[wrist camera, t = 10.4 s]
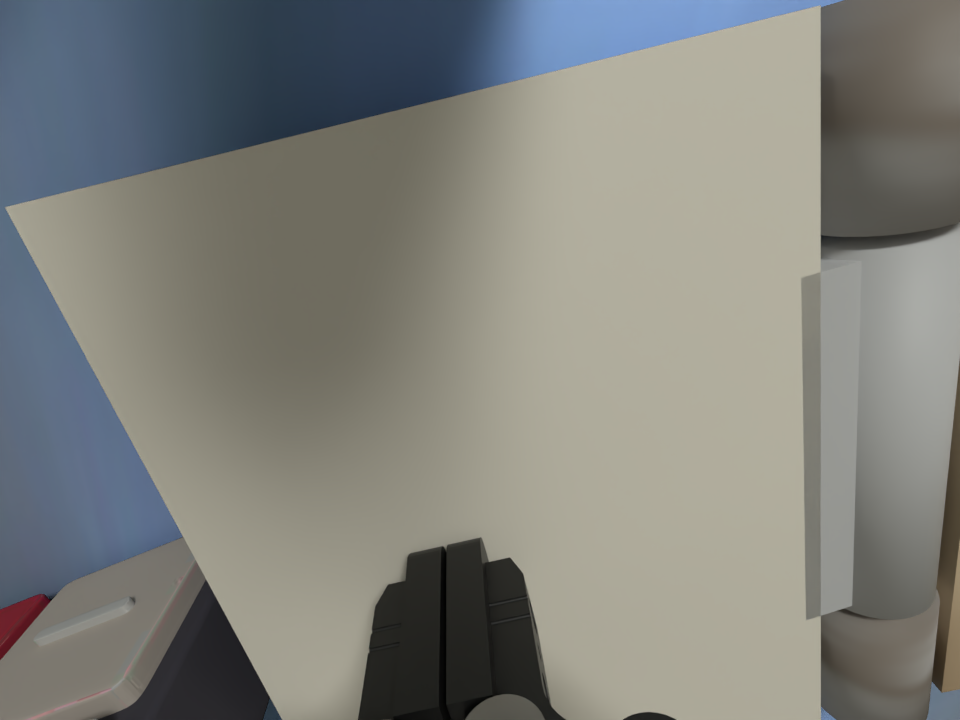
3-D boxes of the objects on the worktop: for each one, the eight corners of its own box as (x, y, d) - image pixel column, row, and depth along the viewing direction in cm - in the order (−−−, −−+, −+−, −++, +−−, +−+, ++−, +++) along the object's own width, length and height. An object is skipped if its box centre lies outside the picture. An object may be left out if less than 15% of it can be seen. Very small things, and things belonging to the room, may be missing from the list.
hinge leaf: (898, -8, 11) (1051, -55, 9) (870, 634, 18) (950, 716, 16) (79, 195, 10) (-23, 211, 8) (371, 794, 17) (369, 910, 15)
